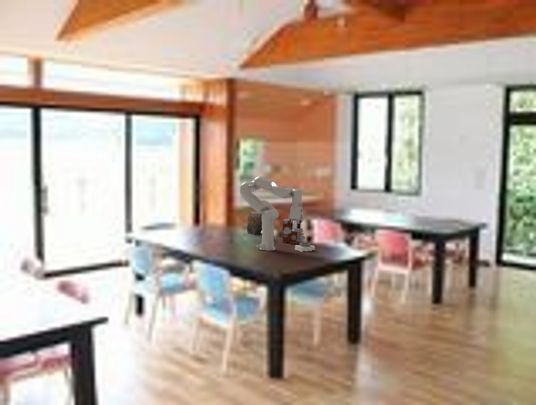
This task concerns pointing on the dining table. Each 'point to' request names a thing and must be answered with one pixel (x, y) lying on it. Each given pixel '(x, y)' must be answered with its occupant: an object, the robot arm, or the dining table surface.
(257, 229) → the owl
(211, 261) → the dining table surface
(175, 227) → the dining table surface
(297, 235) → the brown patterned box
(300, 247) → the camera body
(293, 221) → the lens
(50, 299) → the dining table surface
